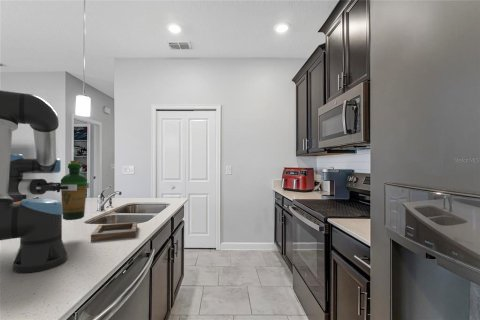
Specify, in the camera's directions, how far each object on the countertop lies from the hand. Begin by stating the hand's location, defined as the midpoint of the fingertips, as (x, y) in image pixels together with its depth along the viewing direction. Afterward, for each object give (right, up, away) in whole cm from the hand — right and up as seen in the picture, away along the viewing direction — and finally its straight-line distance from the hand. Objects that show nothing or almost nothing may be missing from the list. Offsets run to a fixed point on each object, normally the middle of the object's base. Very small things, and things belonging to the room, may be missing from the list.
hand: (83, 186), depth 118 cm
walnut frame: (+13, -25, +7) cm, 29 cm away
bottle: (-4, -16, -1) cm, 16 cm away
